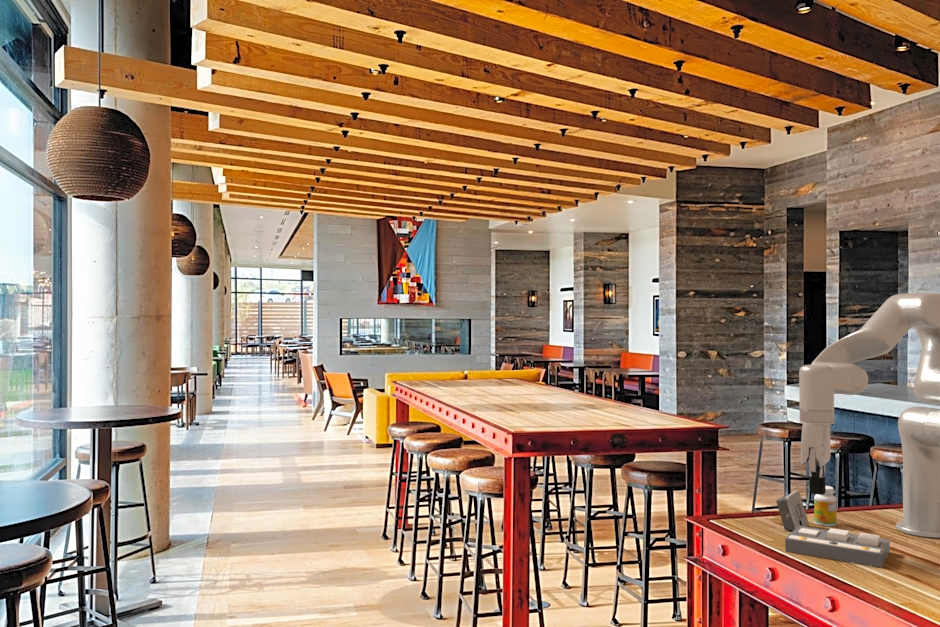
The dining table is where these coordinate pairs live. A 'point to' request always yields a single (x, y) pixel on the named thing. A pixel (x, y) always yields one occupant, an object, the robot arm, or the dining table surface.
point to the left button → (808, 532)
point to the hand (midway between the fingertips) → (817, 493)
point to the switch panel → (837, 547)
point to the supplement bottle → (825, 508)
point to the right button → (869, 539)
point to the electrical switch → (792, 511)
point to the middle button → (838, 535)
